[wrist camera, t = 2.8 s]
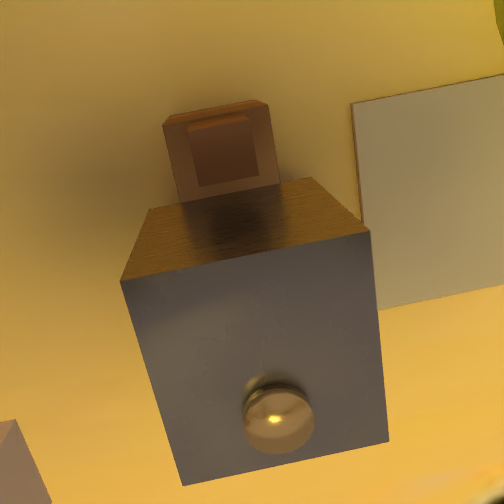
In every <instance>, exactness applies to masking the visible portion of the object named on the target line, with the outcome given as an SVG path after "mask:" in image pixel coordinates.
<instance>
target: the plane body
mask: <svg viewBox="0 0 504 504" xmlns="http://www.w3.org/2000/svg"><path fill="white" fill-rule="evenodd" d="M162 127H163V131H164V136H165V140H166V144H167V148H168V152H169V156H170V161H171V165H172V169H173V173H174V177H175V181H176V186H177V190H178V194H179V198H180V202H181V203H182V202H187V201H193V200H198V199H203V198H208V197H213V196H218V195H223V194H228V193H233V192H238V191H243V190H248V189H253V188H258V187H263V186H268V185H273V184H278V183H280V177H279V171H278V165H277V158H276V152H275V146H274V139H273V133H272V127H271V120H270V114H269V108H268V105H267V104H265V103H262V102H260V101H257V100H251V101H246V102H241V103H236V104H230V105H225V106H220V107H215V108H210V109H204V110H199V111H194V112H189V113H184V114H178V115H173V116H170V117H169V118H168V119H167V120H166V121H165V122H164V124H163V125H162Z"/></svg>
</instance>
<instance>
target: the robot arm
mask: <svg viewBox="0 0 504 504" xmlns="http://www.w3.org/2000/svg"><path fill="white" fill-rule="evenodd" d="M51 503H52V501H51V498H50V496H49V494H48V492H47V489H46V487H45V485H44V482H43V480H42V478H41V476H40V473H39V471H38V469H37V467H36V464H35V462H34V460H33V457H32V455H31V453H30V451H29V448H28V446H27V444H26V442H25V439H24V437H23V435H22V432H21V430H20V428H19V426H18V423H17V421H16V419H14V420H9V421H4V422H0V504H51Z"/></svg>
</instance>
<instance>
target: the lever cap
mask: <svg viewBox="0 0 504 504" xmlns="http://www.w3.org/2000/svg"><path fill="white" fill-rule="evenodd" d="M120 284H121V287H122V290H123V294H124V297H125V300H126V303H127V307H128V310H129V313H130V316H131V320H132V323H133V326H134V329H135V333H136V336H137V339H138V342H139V346H140V349H141V352H142V356H143V359H144V362H145V365H146V369H147V372H148V375H149V378H150V382H151V385H152V388H153V391H154V395H155V398H156V401H157V404H158V408H159V411H160V414H161V417H162V421H163V424H164V427H165V430H166V434H167V437H168V440H169V443H170V447H171V450H172V453H173V456H174V460H175V463H176V466H177V469H178V473H179V476H180V479H181V482H182V486H187V485H191V484H196V483H200V482H205V481H210V480H214V479H219V478H224V477H228V476H233V475H237V474H242V473H247V472H251V471H256V470H261V469H265V468H270V467H274V466H279V465H284V464H288V463H293V462H298V461H302V460H307V459H312V458H316V457H321V456H325V455H330V454H335V453H339V452H344V451H349V450H353V449H358V448H362V447H367V446H372V445H376V444H381V443H386V442H389V432H388V421H387V410H386V399H385V388H384V377H383V366H382V355H381V344H380V333H379V322H378V311H377V300H376V289H375V278H374V267H373V256H372V244H371V233H370V230H369V229H368V228H367V227H366V226H365V225H364V224H362V223H361V222H360V221H359V220H358V219H357V218H356V217H355V216H354V215H353V214H351V213H350V212H349V211H348V210H347V209H346V208H345V207H344V206H343V205H342V204H340V203H339V202H338V201H337V200H336V199H335V198H334V197H333V196H332V195H331V194H329V193H328V192H327V191H326V190H325V189H324V188H323V187H322V186H321V185H320V184H318V183H317V182H316V181H315V180H314V179H313V178H312V177H309V178H304V179H299V180H294V181H288V182H283V183H278V184H273V185H268V186H263V187H258V188H253V189H248V190H243V191H238V192H233V193H228V194H223V195H218V196H213V197H208V198H203V199H198V200H193V201H187V202H182V203H177V204H172V205H167V206H162V207H157V208H152V209H149V211H148V213H147V216H146V218H145V221H144V223H143V225H142V228H141V230H140V233H139V235H138V238H137V240H136V242H135V245H134V247H133V250H132V252H131V255H130V257H129V260H128V262H127V264H126V267H125V269H124V272H123V274H122V277H121V279H120Z"/></svg>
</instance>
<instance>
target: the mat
mask: <svg viewBox="0 0 504 504" xmlns="http://www.w3.org/2000/svg"><path fill="white" fill-rule="evenodd" d="M350 105H351V115H352V125H353V136H354V146H355V156H356V167H357V177H358V187H359V198H360V208H361V218H362V224H364V225H365V226H366V227H367V228H368V229H369V230H370V233H371V244H372V256H373V267H374V278H375V289H376V300H377V310H382V309H387V308H392V307H396V306H401V305H406V304H411V303H416V302H420V301H425V300H430V299H435V298H440V297H445V296H449V295H454V294H459V293H464V292H469V291H473V290H478V289H483V288H488V287H493V286H498V285H502V284H504V74H503V75H498V76H493V77H487V78H482V79H477V80H472V81H467V82H462V83H456V84H451V85H446V86H441V87H436V88H431V89H425V90H420V91H415V92H410V93H405V94H400V95H394V96H389V97H384V98H379V99H374V100H369V101H364V102H358V103H353V104H350Z"/></svg>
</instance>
